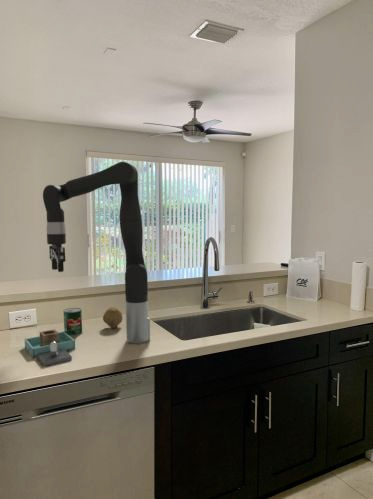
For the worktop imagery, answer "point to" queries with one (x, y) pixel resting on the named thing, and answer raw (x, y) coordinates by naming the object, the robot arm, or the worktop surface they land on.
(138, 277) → the robot arm
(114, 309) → the natural sponge
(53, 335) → the hollow wooden cube
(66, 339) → the teal tray
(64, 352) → the gauge pin stand
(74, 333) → the canned tomato
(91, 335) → the worktop surface
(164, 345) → the worktop surface
